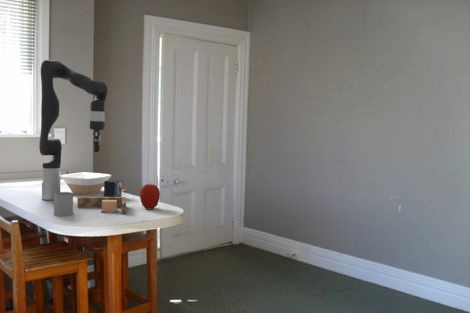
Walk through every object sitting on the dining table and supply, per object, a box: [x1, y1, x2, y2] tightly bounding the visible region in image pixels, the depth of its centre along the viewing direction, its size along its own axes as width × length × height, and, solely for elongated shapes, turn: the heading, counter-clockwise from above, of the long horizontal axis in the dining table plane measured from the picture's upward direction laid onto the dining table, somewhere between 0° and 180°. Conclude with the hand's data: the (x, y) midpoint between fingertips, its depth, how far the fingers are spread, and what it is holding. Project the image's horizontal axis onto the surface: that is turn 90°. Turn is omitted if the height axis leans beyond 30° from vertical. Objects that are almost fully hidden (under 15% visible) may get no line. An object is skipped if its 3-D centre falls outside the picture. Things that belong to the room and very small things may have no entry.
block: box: [101, 200, 118, 213], centre depth 252 cm, size 4×7×5 cm, turn 103°
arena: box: [76, 196, 127, 215], centre depth 254 cm, size 24×20×5 cm
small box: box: [103, 178, 123, 197], centre depth 289 cm, size 11×6×10 cm, turn 168°
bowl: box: [60, 171, 112, 196], centre depth 305 cm, size 24×25×11 cm
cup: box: [53, 191, 74, 217], centre depth 241 cm, size 8×8×10 cm
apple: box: [139, 183, 161, 210], centre depth 261 cm, size 10×10×14 cm
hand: (96, 151), depth 265 cm, fingers open, 8 cm apart
